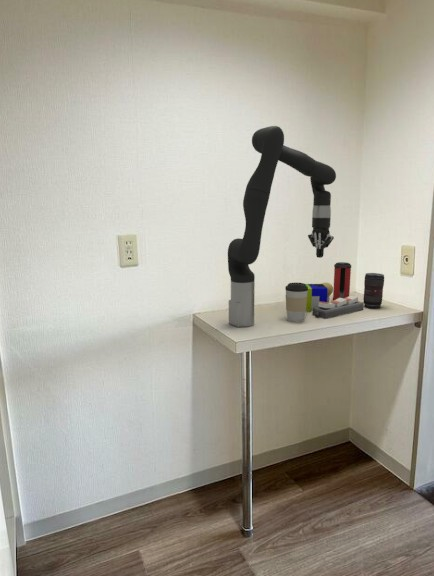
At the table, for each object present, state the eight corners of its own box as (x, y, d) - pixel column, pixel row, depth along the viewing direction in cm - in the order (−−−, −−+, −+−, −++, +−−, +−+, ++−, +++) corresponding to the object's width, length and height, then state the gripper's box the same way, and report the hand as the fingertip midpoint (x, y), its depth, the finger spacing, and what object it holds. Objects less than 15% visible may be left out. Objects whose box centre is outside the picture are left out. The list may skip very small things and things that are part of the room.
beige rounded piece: (314, 303, 196) (316, 282, 194) (325, 302, 199) (326, 281, 197) (324, 306, 190) (325, 284, 188) (335, 304, 193) (336, 283, 191)
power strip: (322, 319, 170) (322, 311, 170) (309, 315, 176) (309, 308, 175) (363, 309, 184) (363, 302, 184) (350, 306, 190) (350, 299, 189)
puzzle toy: (326, 311, 183) (327, 288, 181) (303, 311, 183) (304, 288, 181) (321, 305, 192) (322, 283, 190) (299, 305, 193) (300, 284, 191)
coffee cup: (284, 315, 176) (285, 280, 173) (306, 316, 175) (307, 281, 172) (284, 322, 168) (285, 285, 164) (307, 323, 166) (309, 285, 163)
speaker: (332, 302, 198) (334, 264, 194) (332, 298, 205) (333, 261, 201) (350, 303, 196) (352, 264, 192) (348, 299, 203) (350, 262, 199)
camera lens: (383, 309, 184) (386, 276, 181) (364, 309, 185) (366, 275, 182) (380, 305, 192) (382, 272, 188) (361, 304, 193) (363, 272, 190)
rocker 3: (349, 305, 181) (348, 300, 180) (342, 303, 184) (342, 299, 183) (358, 300, 184) (358, 296, 183) (351, 299, 187) (351, 294, 186)
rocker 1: (324, 308, 173) (325, 303, 172) (318, 306, 176) (319, 301, 175) (334, 308, 176) (335, 303, 176) (327, 306, 179) (328, 301, 179)
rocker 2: (337, 307, 177) (336, 303, 176) (330, 306, 180) (330, 301, 179) (346, 303, 180) (346, 298, 179) (340, 301, 183) (339, 297, 182)
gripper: (303, 216, 181) (302, 256, 185) (327, 217, 170) (325, 259, 174) (315, 215, 185) (314, 254, 189) (339, 216, 174) (337, 258, 178)
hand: (319, 257), depth 181 cm, fingers closed
